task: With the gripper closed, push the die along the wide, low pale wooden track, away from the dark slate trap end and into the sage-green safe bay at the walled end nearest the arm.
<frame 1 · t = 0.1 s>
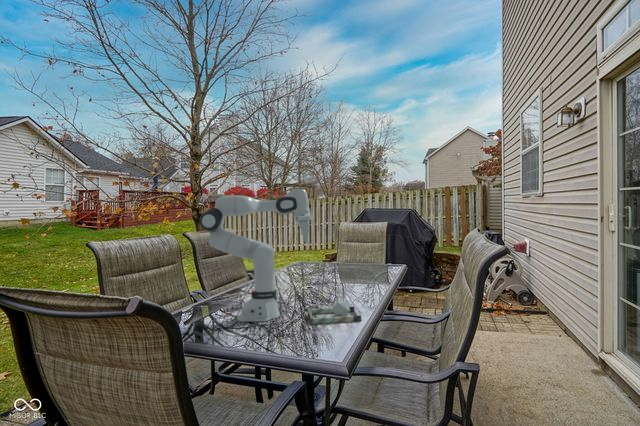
hand: (306, 242, 192), 39 cm above the table, tool pointing down, fingers open, 8 cm apart
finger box: (334, 317, 182), on the table
die: (341, 317, 182), on the table
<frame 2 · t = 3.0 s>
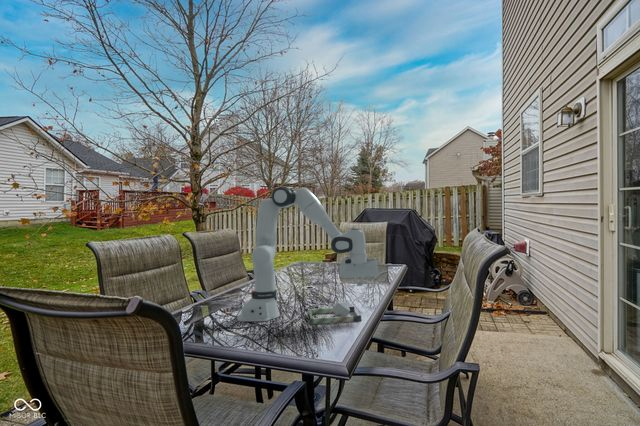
hand: (359, 285, 183), 16 cm above the table, tool pointing down, fingers closed
nothing on the table moved.
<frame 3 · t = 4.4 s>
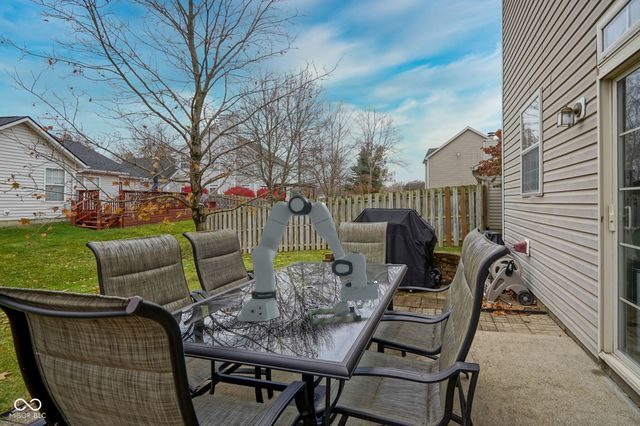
hand: (359, 308, 183), 4 cm above the table, tool pointing down, fingers closed
nothing on the table moved.
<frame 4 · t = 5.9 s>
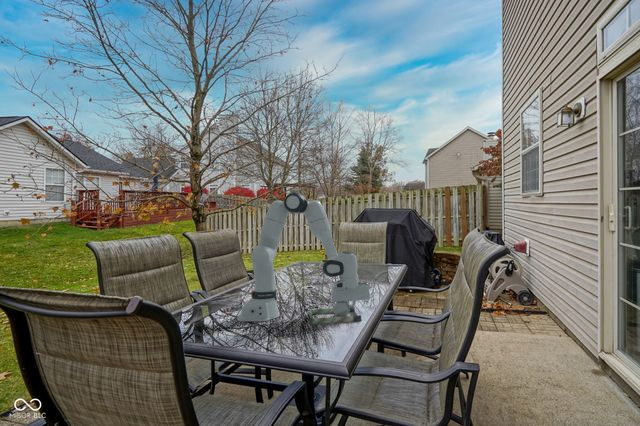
hand: (351, 309, 183), 4 cm above the table, tool pointing down, fingers closed
die: (341, 317, 182), on the table, touching gripper
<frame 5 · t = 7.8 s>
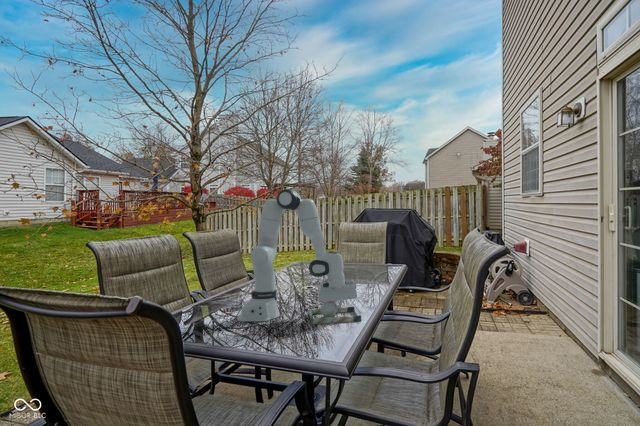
hand: (338, 308, 182), 4 cm above the table, tool pointing down, fingers closed, pressing on die
die: (330, 317, 182), on the table, touching gripper
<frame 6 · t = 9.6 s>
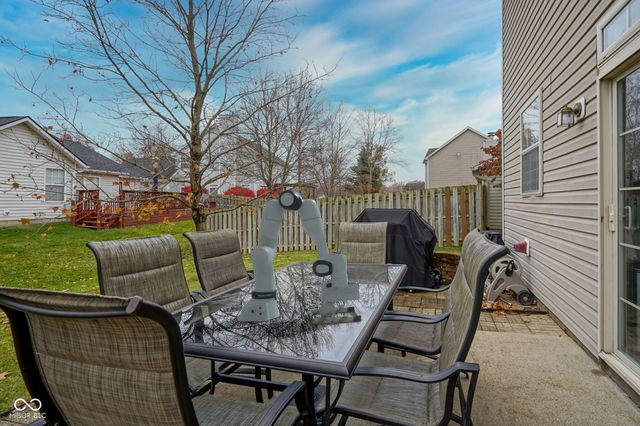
hand: (340, 309, 182), 4 cm above the table, tool pointing down, fingers closed
die: (327, 318, 181), on the table
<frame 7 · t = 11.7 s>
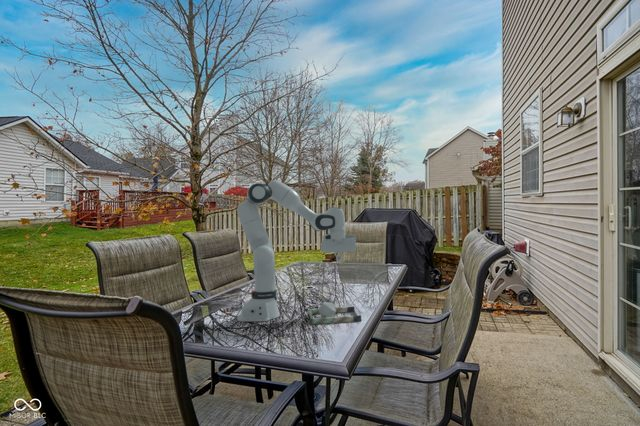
hand: (338, 259, 200), 28 cm above the table, tool pointing down, fingers closed
nothing on the table moved.
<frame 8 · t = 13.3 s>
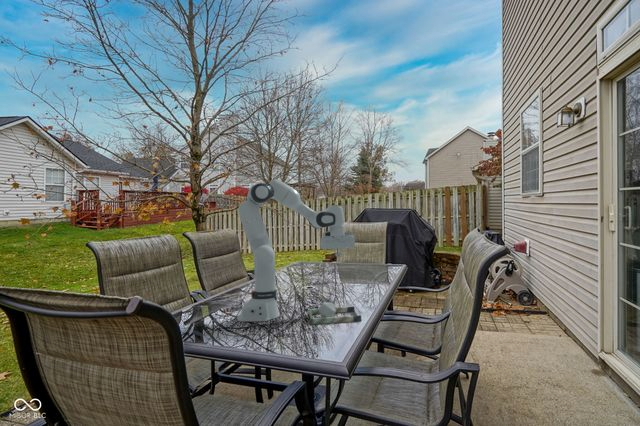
hand: (338, 256, 205), 29 cm above the table, tool pointing down, fingers closed
nothing on the table moved.
at the end: die inside the target area (1.8 cm from its centre), on the table; die tilted 0°; die moved 7.5 cm from its start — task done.
